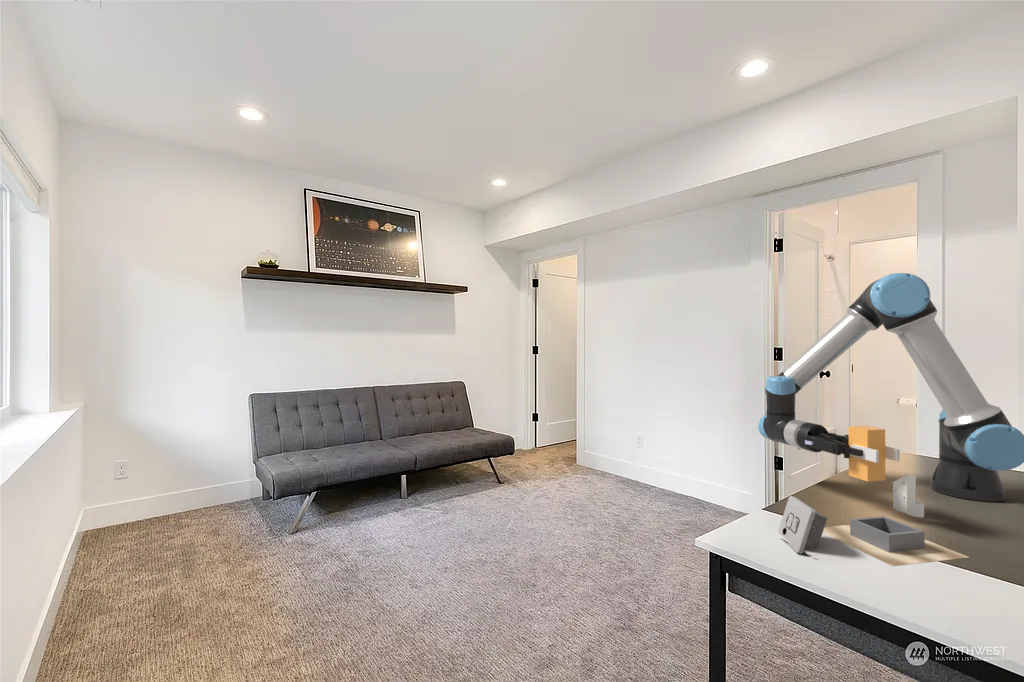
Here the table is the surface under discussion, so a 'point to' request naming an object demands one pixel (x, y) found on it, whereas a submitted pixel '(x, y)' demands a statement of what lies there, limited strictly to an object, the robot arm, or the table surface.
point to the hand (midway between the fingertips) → (887, 455)
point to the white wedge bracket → (907, 496)
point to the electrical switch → (801, 525)
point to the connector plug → (872, 440)
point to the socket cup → (887, 534)
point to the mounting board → (894, 558)
